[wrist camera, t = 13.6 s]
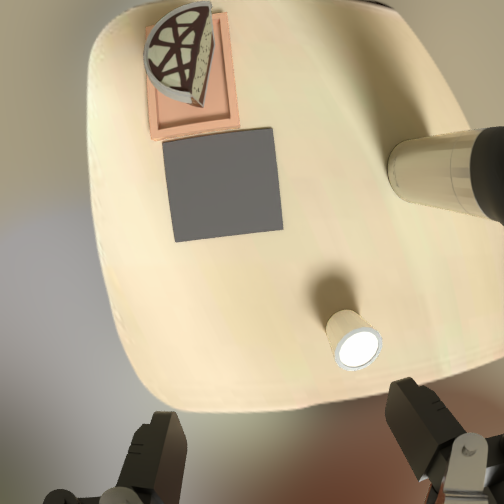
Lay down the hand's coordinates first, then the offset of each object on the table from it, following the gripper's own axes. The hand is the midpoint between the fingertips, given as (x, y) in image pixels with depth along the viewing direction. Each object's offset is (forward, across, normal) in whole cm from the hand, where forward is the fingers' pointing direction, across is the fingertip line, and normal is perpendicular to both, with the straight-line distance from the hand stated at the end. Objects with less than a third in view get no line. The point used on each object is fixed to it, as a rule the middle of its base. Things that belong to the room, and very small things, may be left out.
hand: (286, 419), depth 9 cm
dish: (+30, +6, -24) cm, 39 cm away
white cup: (+30, -12, +14) cm, 35 cm away
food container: (+30, +6, -23) cm, 38 cm away
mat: (+30, +3, -8) cm, 31 cm away
